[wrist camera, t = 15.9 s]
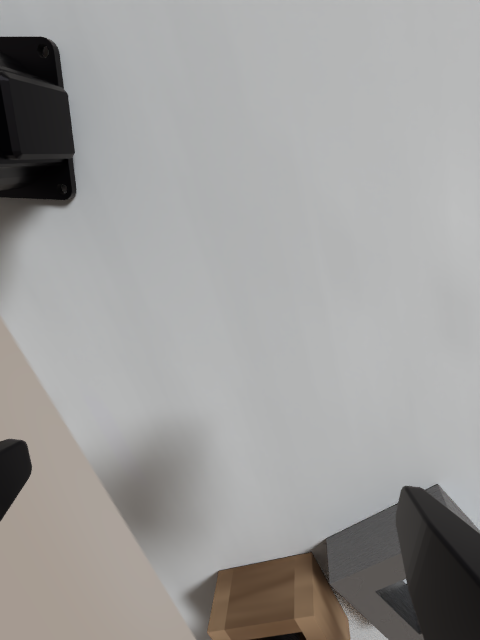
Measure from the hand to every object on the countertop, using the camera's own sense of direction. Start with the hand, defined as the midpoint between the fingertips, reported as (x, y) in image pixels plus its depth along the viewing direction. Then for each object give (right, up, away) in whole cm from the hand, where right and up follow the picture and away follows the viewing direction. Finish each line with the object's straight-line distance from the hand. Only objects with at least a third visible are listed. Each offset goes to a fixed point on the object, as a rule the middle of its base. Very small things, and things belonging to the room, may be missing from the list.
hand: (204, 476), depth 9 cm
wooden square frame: (+4, -16, +19) cm, 25 cm away
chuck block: (+12, -11, +16) cm, 23 cm away
